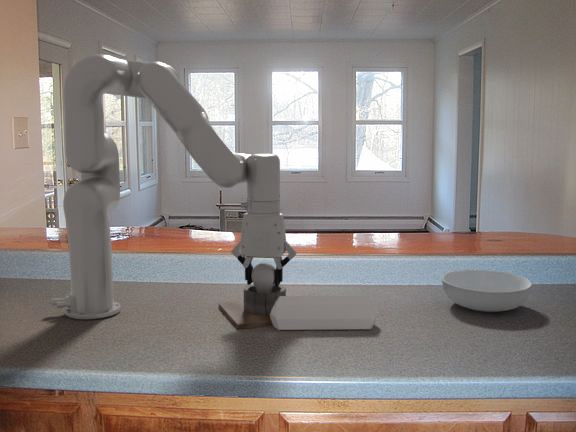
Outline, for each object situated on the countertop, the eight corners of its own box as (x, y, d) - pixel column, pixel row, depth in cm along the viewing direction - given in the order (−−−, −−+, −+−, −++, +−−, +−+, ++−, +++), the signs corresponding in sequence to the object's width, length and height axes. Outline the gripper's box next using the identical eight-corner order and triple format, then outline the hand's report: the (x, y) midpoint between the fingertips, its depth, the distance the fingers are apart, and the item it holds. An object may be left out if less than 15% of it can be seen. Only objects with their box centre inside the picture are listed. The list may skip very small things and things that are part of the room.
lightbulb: (282, 308, 153) (282, 262, 152) (264, 313, 149) (264, 266, 147) (263, 303, 157) (263, 258, 156) (245, 308, 153) (245, 262, 151)
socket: (238, 329, 142) (237, 302, 141) (218, 307, 159) (218, 283, 158) (314, 320, 148) (314, 294, 147) (288, 300, 165) (288, 276, 164)
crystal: (374, 302, 150) (270, 303, 149) (378, 294, 143) (269, 295, 143) (376, 334, 147) (270, 335, 147) (380, 328, 140) (269, 329, 140)
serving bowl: (434, 314, 153) (435, 285, 152) (447, 292, 172) (448, 266, 171) (529, 324, 145) (530, 294, 144) (531, 300, 164) (533, 273, 163)
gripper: (222, 208, 148) (223, 286, 150) (297, 211, 144) (297, 290, 147) (231, 204, 155) (232, 278, 158) (303, 206, 152) (302, 282, 154)
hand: (263, 283), depth 152 cm, fingers closed on lightbulb, 5 cm apart
